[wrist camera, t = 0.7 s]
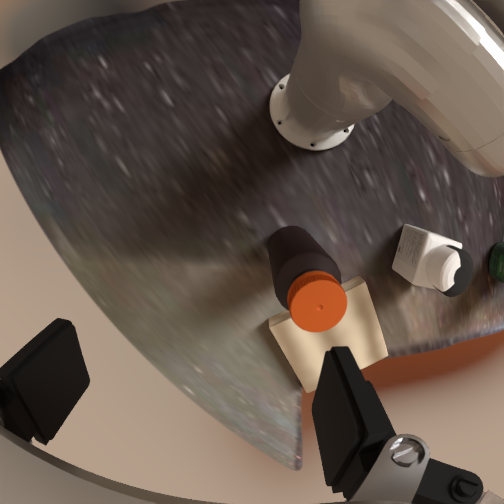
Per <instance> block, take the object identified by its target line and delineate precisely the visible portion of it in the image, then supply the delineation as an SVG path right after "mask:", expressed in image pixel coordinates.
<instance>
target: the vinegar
mask: <svg viewBox="0 0 504 504" xmlns="http://www.w3.org/2000/svg"><path fill="white" fill-rule="evenodd" d="M268 252H269V258H270V264H271V270H272V276H273V283H274V288H275V293H276V297H277V298H278V300H279V302H280V303H281V305H282V306H283V307H285V308H286V309H287V310H288V311H289V312H290V315H291V318H292V320H293V321H294V323H295V325H297V327H298V326H299V328H301V329H303V330H305V331H307V332H308V331H309V332H314V333H315V332H316V333H317V332H322V331H327V330H329V329H331V328H332V327H334V326H335V325H337V323H339V322H340V321H341V319H342V317H343V316H344V314H345V313H346V312H345V311H346V309H347V304H348V303H347V302H348V301H347V296H346V294H345V291H344V289H343V288H342V287H341V283H342V281H341V273H340V270H339V268H338V266H337V264H336V263H335V261H334V260H333V259H332V258H331V257H330V256H329V255H328V254H327V253H326V252H325V250H324V249H323V248H322V247H321V246H320V245H319V244H318V243H317V242H316V241H315V240H314V238H313V237H312V236H311V235H310V234H309V233H308V232H307V231H306V230H305V229H302V228H300V227H298V226H287V227H283V228H281V229H279V230H278V231H276V232H275V234H274V235H273V236H272V237H271V240H270V242H269V247H268Z"/></svg>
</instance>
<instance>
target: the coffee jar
mask: <svg viewBox="0 0 504 504" xmlns="http://www.w3.org/2000/svg"><path fill="white" fill-rule="evenodd" d="M489 273H490V275H491V276H492V277H493V278H495V279H497V280H499V281H501V282H503V283H504V242H500V243H497V244H496V245H495V246H494V248H493V250H492V253H491V256H490V260H489Z"/></svg>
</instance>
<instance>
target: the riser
mask: <svg viewBox="0 0 504 504" xmlns="http://www.w3.org/2000/svg"><path fill="white" fill-rule="evenodd" d="M341 287H342V288H343V289H344V291H345V294H346V296H347V301H348V302H347V303H348V304H347V309H346V311H345V312H346V313H345V314H344V316H343V317H342V319H341V321H340V322H339V323H337V325H335V326H334V327H332V328H331V329H329V330H327V331H322V332H317V333H316V332H315V333H314V332H309V331H308V332H307V331H305V330H303V329H301V328H299V326H298V327H297V325H295V323H294V321H293V320H292V318H291V315H290V312H289V311H288V310H286V311H284V312H282V313H280V314H277V315H275V316H273V317H271V318H269V328H270V330H271V331H272V333H273V335H274V337H275V338H276V340H277V342H278V344H279V345H280V347H281V349H282V351H283V352H284V354H285V356H286V358H287V359H288V361H289V363H290V365H291V366H292V368H293V370H294V371H295V373H296V375H297V377H298V378H299V380H300V382H301V383H302V385H303V387H304V389H305V390H306V392H307V393H309V392H311V391H314V390H316V388H317V384H318V380H319V376H320V372H321V368H322V364H323V360H324V355H325V352H326V351H330V349H331V347H333V346H348V347H349V348H350V350H351V352H352V354H353V356H354V358H355V360H356V362H357V364H358V366H359V368H360V370H361V369H363V368H365V367H367V366H369V365H371V364H373V363H375V362H377V361H379V360H381V359H382V358H384V357H386V356H388V352H387V349H386V345H385V342H384V338H383V335H382V331H381V328H380V325H379V322H378V318H377V315H376V312H375V309H374V306H373V303H372V300H371V297H370V294H369V291H368V288H367V285H366V282H365V281H364V280H363V279H362V278H361V277H360V276H357V277H355V278H353V279H351V280H349V281H347V282H345V283H343V284H341Z"/></svg>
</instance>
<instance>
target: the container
mask: <svg viewBox="0 0 504 504" xmlns="http://www.w3.org/2000/svg"><path fill="white" fill-rule="evenodd" d="M392 269H393V270H394V271H396V272H397V273H398V274H400V275H401V276H402V277H404V278H405V279H406V280H408V281H409V282H410V283H412V284H413V285H418V286H423V287H428V288H433V289H437V290H439V291H440V292H442V293H443V294H444V295H446V296H448V297H454V296H457V295H459V294H460V293H462V292H463V291H464V290H465V289H466V288H467V286H468V285H469V283H470V281H471V278H472V275H473V261H472V258H471V256H470V254H469V253H468V252H466V251H465V250H462V244H461V243H459V242H456V241H454V240H451V239H449V238H446V237H444V236H441V235H439V234H436V233H433V232H430V231H427V230H424V229H421V228H418V227H414V226H411V225H408V224H404V226H403V230H402V234H401V237H400V241H399V245H398V248H397V251H396V255H395V258H394V261H393V265H392Z"/></svg>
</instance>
